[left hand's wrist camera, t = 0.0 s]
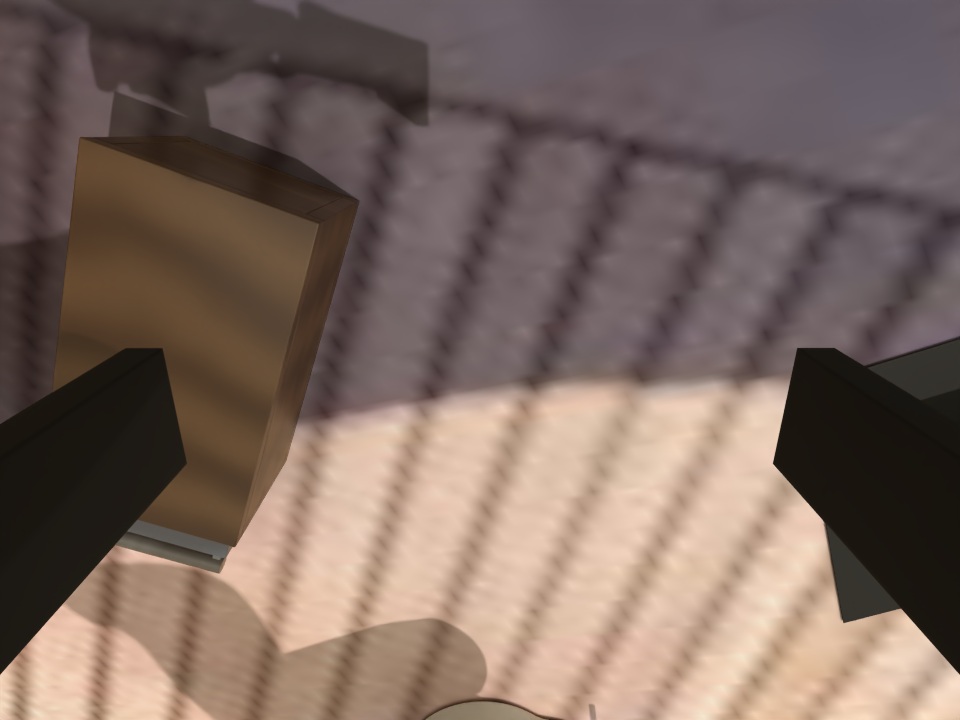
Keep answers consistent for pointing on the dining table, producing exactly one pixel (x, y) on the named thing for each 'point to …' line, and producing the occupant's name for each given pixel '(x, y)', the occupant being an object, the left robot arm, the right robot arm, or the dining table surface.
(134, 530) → the drawer
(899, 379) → the oil diffuser
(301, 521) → the dining table surface
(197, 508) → the cabinet
